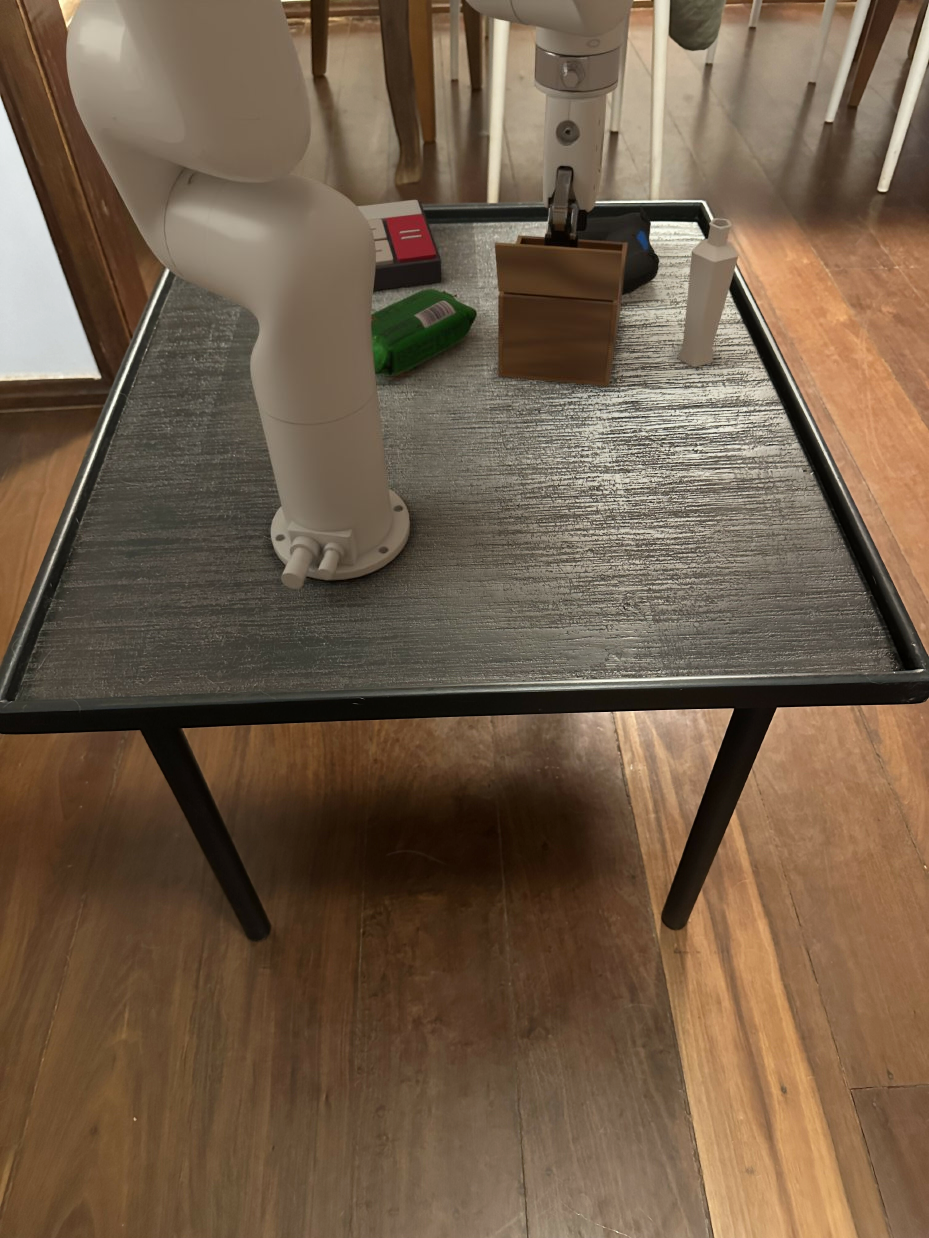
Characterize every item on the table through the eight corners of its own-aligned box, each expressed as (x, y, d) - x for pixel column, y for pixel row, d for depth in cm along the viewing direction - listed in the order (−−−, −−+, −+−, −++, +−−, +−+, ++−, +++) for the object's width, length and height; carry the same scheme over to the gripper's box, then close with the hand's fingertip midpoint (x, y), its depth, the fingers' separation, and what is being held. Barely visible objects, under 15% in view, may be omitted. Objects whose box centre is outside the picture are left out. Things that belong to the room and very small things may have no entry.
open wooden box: (609, 386, 98) (617, 305, 91) (498, 376, 99) (498, 296, 92) (619, 321, 106) (628, 242, 99) (516, 313, 108) (518, 235, 101)
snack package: (488, 337, 105) (488, 295, 101) (381, 392, 98) (376, 349, 94) (448, 314, 108) (446, 272, 104) (341, 365, 102) (335, 323, 98)
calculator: (350, 265, 109) (336, 203, 118) (354, 298, 112) (340, 235, 121) (441, 254, 110) (419, 193, 119) (442, 286, 113) (421, 225, 123)
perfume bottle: (672, 366, 100) (694, 232, 88) (676, 344, 103) (698, 211, 91) (715, 371, 99) (743, 236, 88) (717, 349, 102) (745, 215, 90)
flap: (618, 298, 90) (617, 300, 90) (498, 289, 92) (498, 291, 92) (622, 250, 84) (622, 253, 84) (495, 242, 86) (494, 244, 86)
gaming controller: (591, 329, 109) (669, 288, 105) (568, 291, 106) (648, 247, 102) (582, 260, 120) (653, 220, 116) (562, 223, 117) (634, 181, 113)
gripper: (610, 104, 75) (593, 297, 88) (627, 35, 86) (609, 215, 99) (520, 99, 76) (516, 291, 89) (548, 32, 87) (540, 211, 100)
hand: (565, 251), depth 94 cm, fingers open, 9 cm apart
